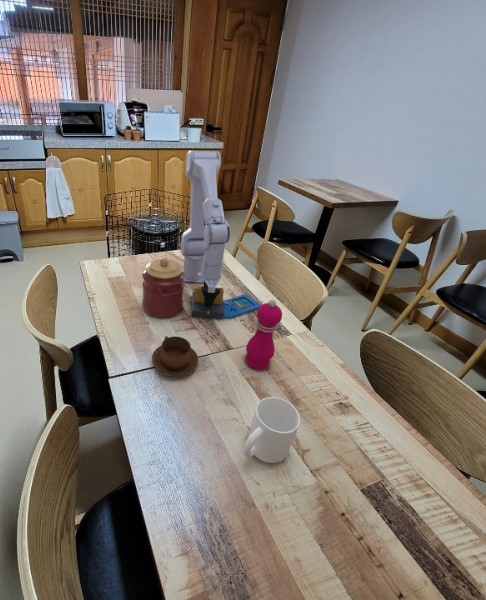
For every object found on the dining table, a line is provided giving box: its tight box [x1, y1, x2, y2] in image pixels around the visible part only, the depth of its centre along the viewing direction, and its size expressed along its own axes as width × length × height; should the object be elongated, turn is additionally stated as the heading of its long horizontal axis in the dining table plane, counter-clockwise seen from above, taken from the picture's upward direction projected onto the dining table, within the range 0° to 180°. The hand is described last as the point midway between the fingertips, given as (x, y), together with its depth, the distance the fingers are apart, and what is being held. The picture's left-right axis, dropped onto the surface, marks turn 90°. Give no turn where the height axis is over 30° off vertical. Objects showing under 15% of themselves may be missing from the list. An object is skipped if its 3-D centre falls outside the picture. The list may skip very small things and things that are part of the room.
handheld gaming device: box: [223, 293, 262, 320], centre depth 112 cm, size 8×1×15 cm
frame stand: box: [187, 291, 228, 320], centre depth 110 cm, size 13×13×3 cm
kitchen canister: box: [142, 256, 185, 319], centre depth 105 cm, size 13×13×18 cm
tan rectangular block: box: [194, 285, 225, 304], centre depth 108 cm, size 9×2×5 cm, turn 87°
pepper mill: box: [245, 299, 283, 371], centre depth 85 cm, size 7×7×20 cm
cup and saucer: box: [151, 335, 199, 377], centre depth 87 cm, size 12×12×6 cm
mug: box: [242, 396, 301, 464], centre depth 67 cm, size 12×8×10 cm
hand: (208, 299), depth 109 cm, fingers open, 7 cm apart
